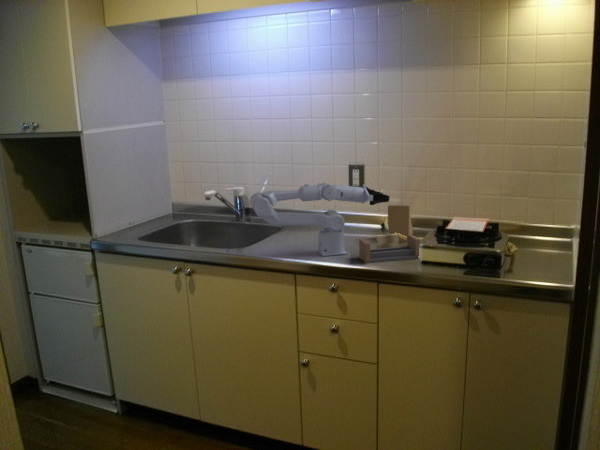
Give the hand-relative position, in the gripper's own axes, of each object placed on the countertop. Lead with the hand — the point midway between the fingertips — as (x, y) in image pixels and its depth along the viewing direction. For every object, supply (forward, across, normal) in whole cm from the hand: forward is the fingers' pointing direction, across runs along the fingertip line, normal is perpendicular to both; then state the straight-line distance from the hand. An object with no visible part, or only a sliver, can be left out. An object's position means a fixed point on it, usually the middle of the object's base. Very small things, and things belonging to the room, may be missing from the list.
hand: (385, 197), depth 214 cm
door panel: (+3, -2, +20) cm, 20 cm away
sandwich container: (+15, +15, +18) cm, 28 cm away
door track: (0, -12, +20) cm, 24 cm away
